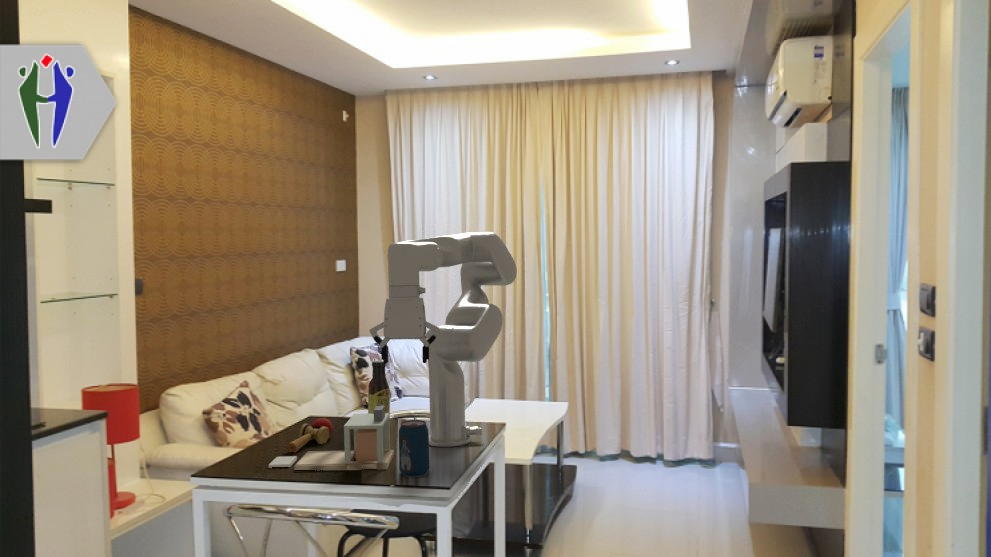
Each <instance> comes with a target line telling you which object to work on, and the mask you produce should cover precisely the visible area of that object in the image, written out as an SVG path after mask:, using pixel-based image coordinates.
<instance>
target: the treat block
mask: <svg viewBox="0 0 991 557" xmlns="http://www.w3.org/2000/svg"><path fill="white" fill-rule="evenodd" d="M355 451H356V458H355V461H378V455H377V429H358V430H357V432H356V450H355Z"/></svg>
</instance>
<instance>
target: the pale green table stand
mask: <svg viewBox="0 0 991 557" xmlns="http://www.w3.org/2000/svg"><path fill="white" fill-rule="evenodd" d="M358 429H377V455H378V463H383V450H391V435H390V434H391V432H390V430H391V429H390V423H389V413H385V406H376V408H375V409H374V414H368V413H353V415H352V416H351V417H350V418H349V419H348V421H347V422H346V423H345V424H344V425H343V434H344V435H343V443H344V451H345V463H350V462H351V451H352V450H351V448H352V447H351V430H353V451H356V432H357V430H358Z"/></svg>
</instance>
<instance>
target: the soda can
mask: <svg viewBox="0 0 991 557" xmlns="http://www.w3.org/2000/svg"><path fill="white" fill-rule="evenodd" d="M429 435H430V428H428V425H427V421H425V420H421V419H420V420H419V419H410V420H405V421H402V422H401V423H400V427H399V429H398V459H399V462H398V463H399V470H400V473H401V474H402V476H403V477H405V476H406V477H405V478H412V477H413V478H420V477H421V478H422V477H425V476H426V475H427V474H428V472H429V470H430V445H429Z"/></svg>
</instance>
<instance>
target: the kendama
mask: <svg viewBox="0 0 991 557" xmlns="http://www.w3.org/2000/svg"><path fill="white" fill-rule="evenodd" d="M333 432H334V425H333V423H332V421H331V420H330V419H328V418H325V417H321V418H317V419H315V421H313V423H312V425H311V424H309V423H303V424H302V425H301V426H300V429H299V433H298V434H299V435H298V436H299V437H298V438H296V439H294V440H292V441H290V442H289V443H287V445H286V450H287V452H289V453H290V452H294V453H293V454H295V453H297V452H298V451H299V450H301V448H302V447H303V446H305V445H306V444H308V443H309V441H310V440H311V439H313V440H315V441H316V443H317V444H318V445H324V444H326V443H327V441H328V440H329V438H330V437H331V436H332V434H333ZM323 443H324V444H323Z"/></svg>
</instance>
